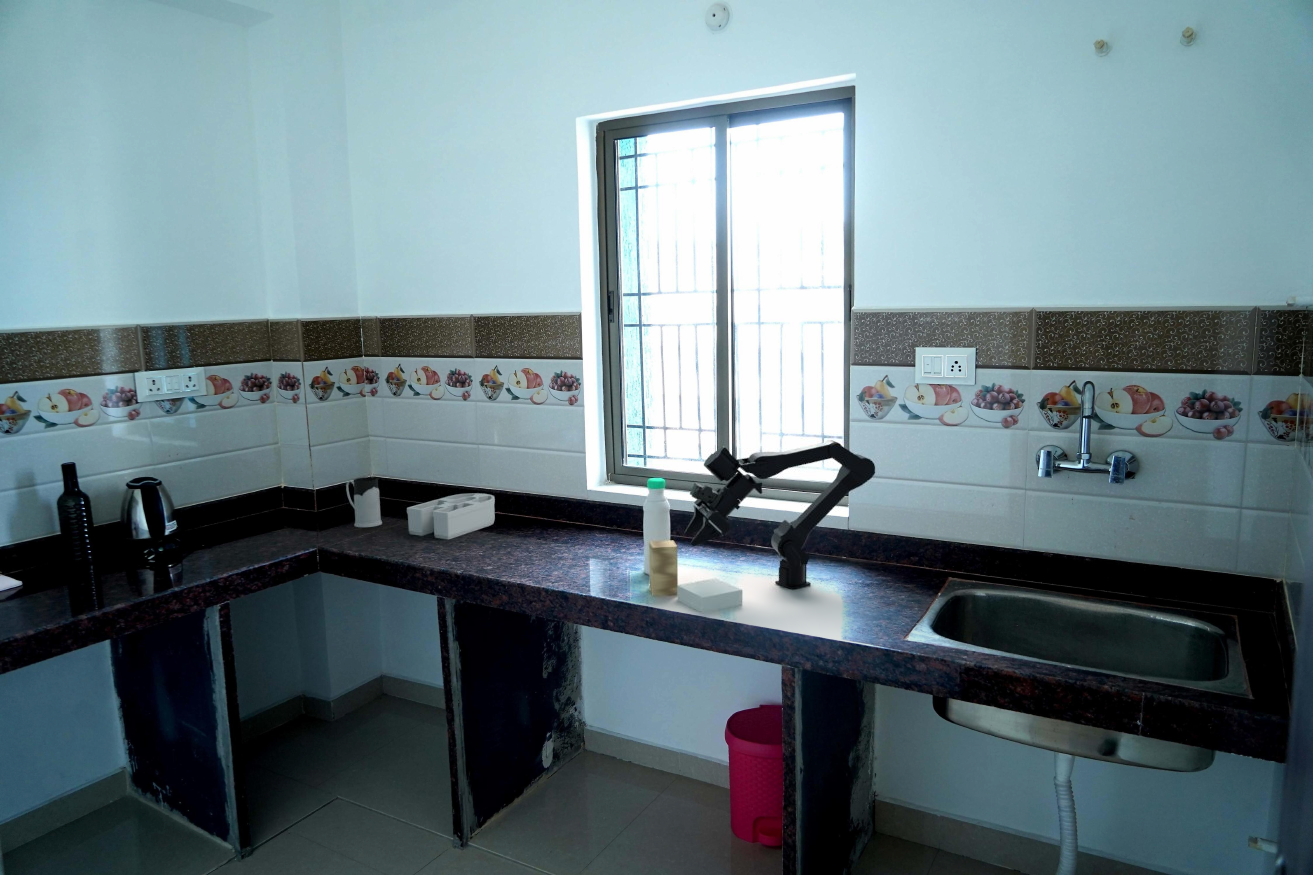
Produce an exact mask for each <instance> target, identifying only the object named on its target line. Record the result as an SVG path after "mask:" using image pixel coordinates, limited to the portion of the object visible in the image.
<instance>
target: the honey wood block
mask: <svg viewBox="0 0 1313 875" xmlns="http://www.w3.org/2000/svg"><path fill="white" fill-rule="evenodd" d="M649 563H650V575H649V590H650V592H651V594H652V597H662V596H663V597H665V596H666V597H667V596H677V585H679V584H678V583H679V582H678V581H679V578H678V574H679V573H678V570H679V569H678V545H677V544H676V542H675V540H671V539H670V541H649Z"/></svg>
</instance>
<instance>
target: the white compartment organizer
mask: <svg viewBox="0 0 1313 875" xmlns="http://www.w3.org/2000/svg"><path fill="white" fill-rule="evenodd" d="M495 500H496V499H495V495H492V494H489V493H488V494H487V493H479V492H477V493H459V494H454V495H448V496H445V497H441V498H438V499H434V500H431V501H427V502H423V503H420V504H416V505H413V506H409V507H407V508H406V513H407V519H408V520H407V521H408V523H407V524H408V532H409V534H410V535H415V536H421V537H423V536H427V535H429V534H432V533H434V535H433V536H434V538H437V539H442V540H451V539H454V538H457V537H460V536H464V535H465V534H469V533H472V532H475V531H478V530H481V529H483V528H487V527H490V526H492V525H494V522H495V519H496V518H495V514H496V512H495V503H496V502H495Z"/></svg>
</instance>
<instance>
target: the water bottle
mask: <svg viewBox="0 0 1313 875" xmlns="http://www.w3.org/2000/svg"><path fill="white" fill-rule="evenodd" d="M646 486H647V490H648V494H647V495H646V498H645V500H644V503H643V505H642V510H643V520H642V521H643V525H642V526H643V527H642V528H643V544H644V546H643V558H644V560H643V572H644V573H645V574H646V575H649V576H650V563H649V541H670V540H671V516H670V510H671V504H670V502H669V500H668V498H667V495H666V494H665V489H666V480H665V479H664V478H661V477H653V478H648V479H647V482H646Z"/></svg>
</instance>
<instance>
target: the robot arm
mask: <svg viewBox="0 0 1313 875" xmlns="http://www.w3.org/2000/svg"><path fill="white" fill-rule="evenodd" d="M830 459H832V460H834V461H836V462H837V463H839V465H841V466H840V468H839V470H838V472H837V473H836V474H837V475H836V476H835V479H834V480H833V481H832V482H831V483H830V484H829V485H828V487H826V488H825V490H823V492H821V493H820V494H819V495H818V496H817V498H816V499H815V500H814V501H813V502H812V503H810V505H809V506H808V507H807V508H806V509H805V510H804V511H803V512H802V513H801V514H800V515H799V516H798V517H797V518H796V519H795V520H792V521H790V522H789V521H788V520H786V519H783V521H782V522H781V523H780V525H779V526H778V527H777V528H774V529H773V532H774V533H773V534H772V536H771V540H770V541H771V542H770V543H771V546H772V548H773V549H774V550H775V551H776V552H777V553H778V556H779V557H780V558H782V559H781V560H779V567H778V580H776V581H775V582H774V583H775V585H778V586H781V587H784V588H788V589H790V590H796V589H800V588H803V587H804V588H805V587H808V586H811V585H812V583H811V582H809V581H807V566H808V565H807V564H808V563H809V561H810V555H809V554H808V553H807V552H805V551H804V549H803V547H804V546H805V544H806V542H807V539H808V538H809V535H810V533H811V532H812V531H813V530H814V528H816V527H817V525H819V523H821V521H822V520H823V519H825V517H826V516H827V515H828V514H829V513H830V512H831V511H832V510H833V509H834V508H836V506H837V505H838V504H839V503H840V502H841V501H842V500H843V499H844V498H845V497H846V496H847V495H848V494H849V493H850V492H851V491H853V490H855V489H857V488H860V487H862V486H863V485H865V484H866V483H867V482H869V481H870V480H871V479H872V478H873V477H874V476H875V474H876V465H875V463H874V462H873V460H872V459H870V458H868V457H866V456H864V455H862V454H858V453H857V454H856V453H854V452H852V451H850V450H849V449H847V448H845V447H844V446H843V445H842V444H841V443H839V442H837V441H835V440H829V439H828V440H826V441H825V442H821V443H817V444H813V445H807V446H803V447H797V448H794V449H790V450H784V451H756V452H754V453H751V454H750V455H749V457H743V458H739V459H737V458H735V457H734V456H733V455H732V454H731V452H730V451H729V450H728V449H727V448H726V447H725V446H721V448H719V449H718V450H716V451H714V452H713V453H711V454H709V456H708V457H707V458H706V459H705V461H704V463H703V466H704V468H706V470H708V471H709V472H710V473H711V474H712V475H713V476H714V477H715V479H717V480H718V481H719V482H723V481H724V482H726V484H725V485H724V486H723V487H722V488H721V487H717V488H716V489H715V490H713V487H712V486H709V485H707V484H705V485H703V484H700V483H698V482H694V483H693V486H692V487H691V490H690V492H689V495H690V496H691V497H692V498H693V499H695V501H694V502H693V503H694V505H693V512H694V513H693V517H692V519H691V520H690V522H689V524H688V526H687V527H686V529H685V531H684V533H683V535H684V536H685V537H686V538H687V537H690V536H692V535H693V534H695V536H694V537H693V538H692V540H691V541H690V545H691V546H692V547H695V546H699V545H700V544H704V543H706V542H708V541H709V542H710V540H711V541H712V540H714V539H716V538H718V537H719V538H720V537H723V536H728V535H729V533H730V532H731V531H732V524H731V522H729V521H728V520H729V516H730V515H731V514H732V513H733V511H735V510H737V511H738V510H739V509H740V508H741V506H740V504H741V503H742V502H743V501H744V500H745V499H746V498H747V497H748V496H749V495H750V494H751V493H752V492H753V491H754V490H755V492H757V493H758V494H759V495H761V494H763V482H761V481H760V480H766V479H769V478H772V477H775V476H776V475H779V474H781V473H782V472H784V471H785V470H788V469H790V468H791V469H792V468H795V467H799V466H804V465H809V464H813V463H817V462H821V461H822V462H823V461H825V460H830ZM739 469H741V470H742V471H744V472H745V473H747V474H743V472H742V471H740V470H739ZM751 474H752V475H753V476H754V477H756V478H757V479H759V480H756V479H754V478H753V477H752V476H751ZM723 534H724V535H723Z"/></svg>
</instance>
